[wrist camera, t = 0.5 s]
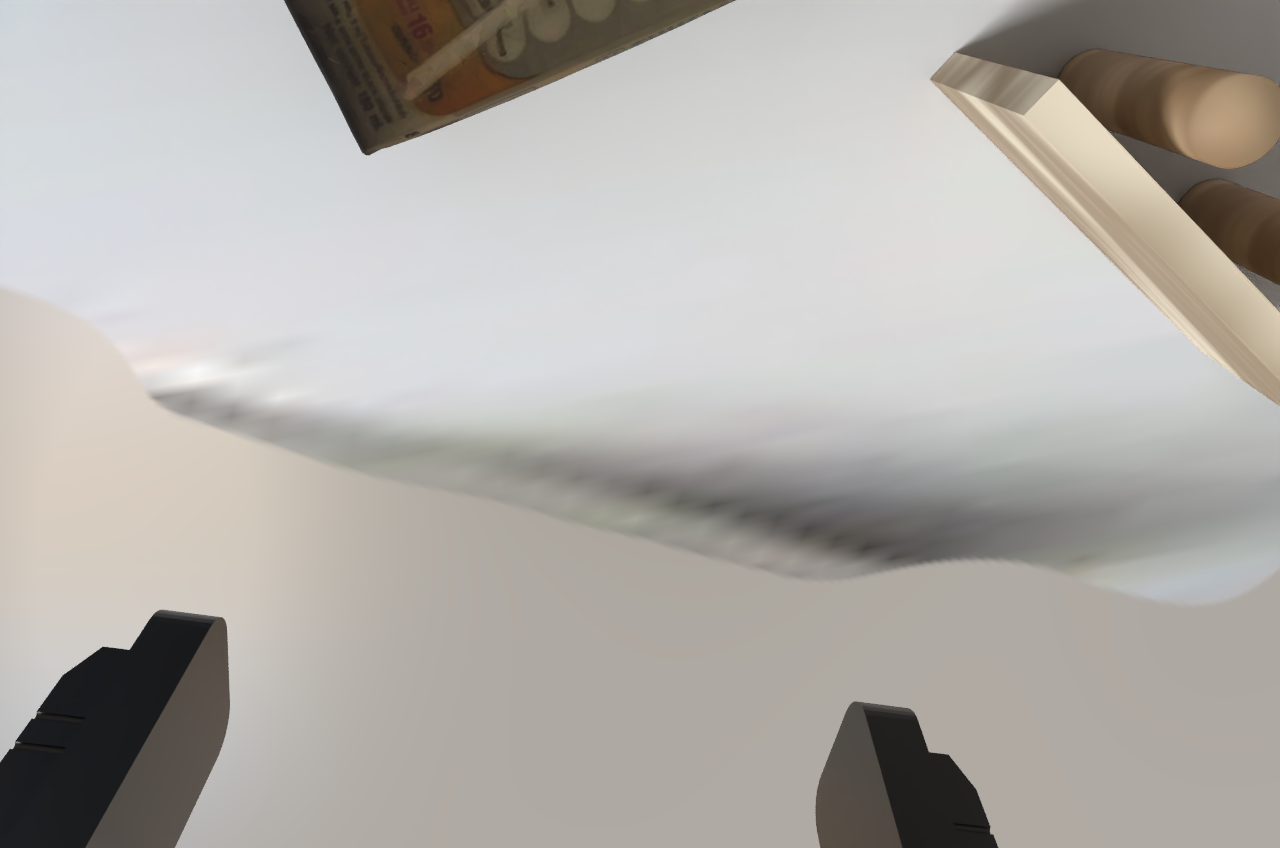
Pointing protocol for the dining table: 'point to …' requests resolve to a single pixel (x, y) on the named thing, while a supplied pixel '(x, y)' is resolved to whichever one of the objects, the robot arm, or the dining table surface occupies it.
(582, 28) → the beverage carton
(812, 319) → the dining table surface
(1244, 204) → the peg cradle
